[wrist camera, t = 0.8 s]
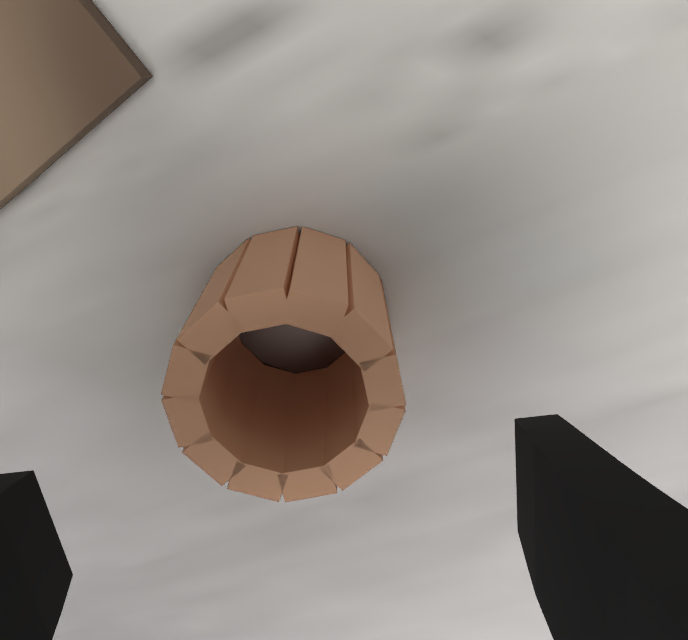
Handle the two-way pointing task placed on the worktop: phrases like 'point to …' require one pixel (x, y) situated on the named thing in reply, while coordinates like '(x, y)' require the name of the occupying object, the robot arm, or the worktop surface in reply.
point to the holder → (56, 82)
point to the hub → (281, 386)
